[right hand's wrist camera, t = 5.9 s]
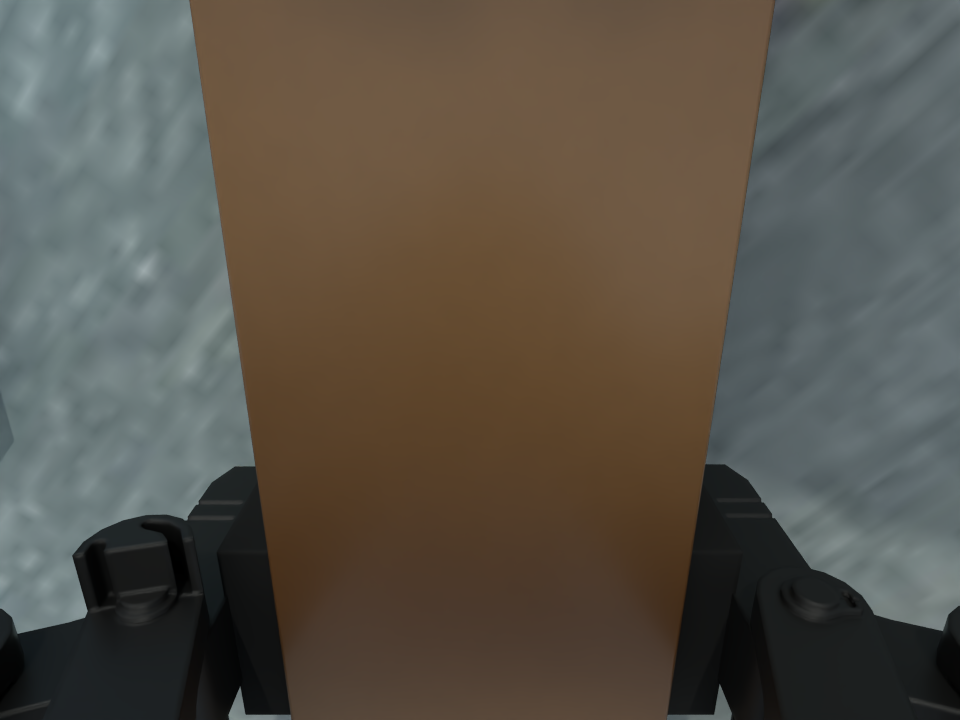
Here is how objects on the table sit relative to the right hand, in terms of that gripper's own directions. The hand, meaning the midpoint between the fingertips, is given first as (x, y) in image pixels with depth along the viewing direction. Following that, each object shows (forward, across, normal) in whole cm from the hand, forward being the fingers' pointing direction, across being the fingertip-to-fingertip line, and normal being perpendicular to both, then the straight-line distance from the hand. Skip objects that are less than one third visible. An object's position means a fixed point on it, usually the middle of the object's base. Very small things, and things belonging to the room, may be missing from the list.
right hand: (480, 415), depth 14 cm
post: (+1, 0, -26) cm, 27 cm away
